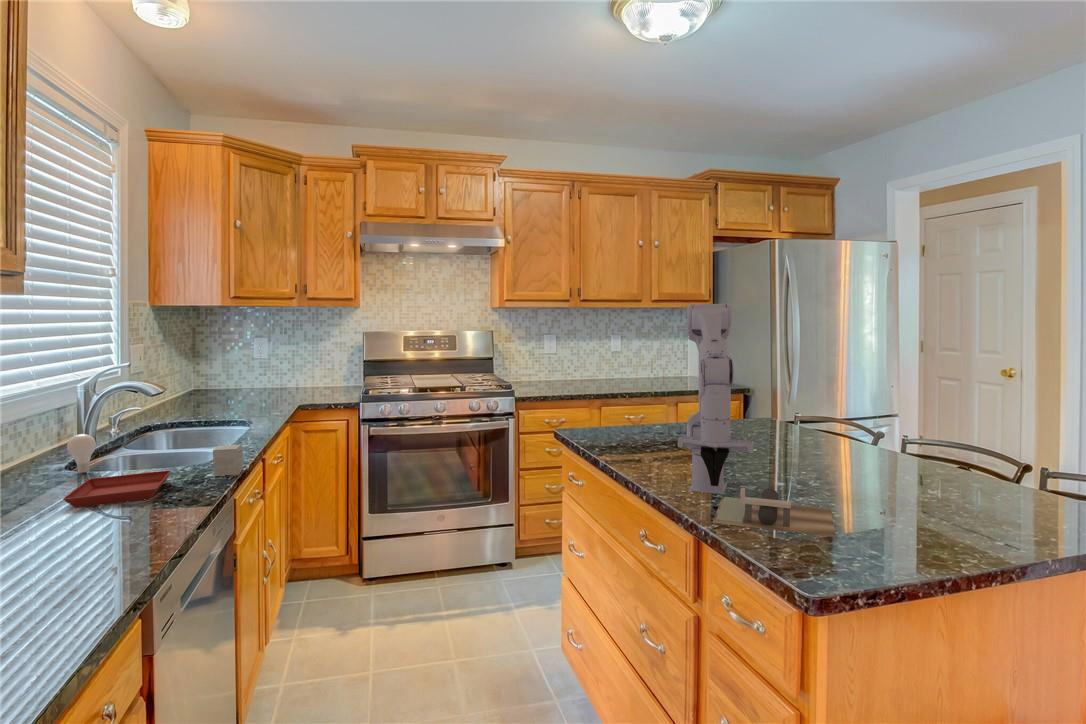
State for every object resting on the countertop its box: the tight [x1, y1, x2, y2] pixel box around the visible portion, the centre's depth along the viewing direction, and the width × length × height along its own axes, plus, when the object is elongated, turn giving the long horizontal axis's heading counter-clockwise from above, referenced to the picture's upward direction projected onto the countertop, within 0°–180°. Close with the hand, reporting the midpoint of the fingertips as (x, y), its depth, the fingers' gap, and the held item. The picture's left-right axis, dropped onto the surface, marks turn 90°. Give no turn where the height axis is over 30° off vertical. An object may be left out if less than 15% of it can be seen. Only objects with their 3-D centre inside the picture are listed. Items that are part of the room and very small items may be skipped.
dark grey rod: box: [758, 487, 779, 525], centre depth 122 cm, size 14×3×3 cm, turn 157°
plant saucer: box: [62, 470, 172, 508], centre depth 144 cm, size 18×18×3 cm
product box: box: [212, 443, 244, 477], centre depth 162 cm, size 6×6×7 cm
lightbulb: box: [66, 433, 97, 475], centre depth 164 cm, size 6×6×11 cm
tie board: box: [712, 496, 837, 538], centre depth 121 cm, size 17×22×4 cm
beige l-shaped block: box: [739, 487, 792, 508], centre depth 117 cm, size 2×9×3 cm, turn 67°
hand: (714, 484), depth 120 cm, fingers closed
